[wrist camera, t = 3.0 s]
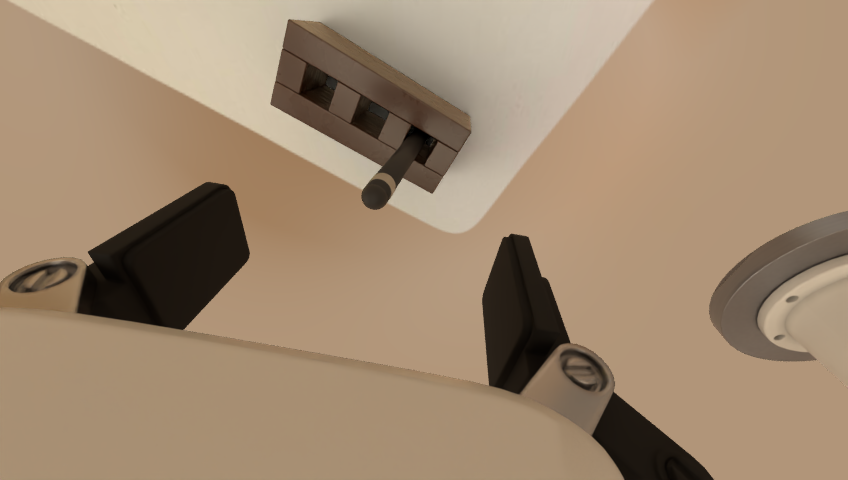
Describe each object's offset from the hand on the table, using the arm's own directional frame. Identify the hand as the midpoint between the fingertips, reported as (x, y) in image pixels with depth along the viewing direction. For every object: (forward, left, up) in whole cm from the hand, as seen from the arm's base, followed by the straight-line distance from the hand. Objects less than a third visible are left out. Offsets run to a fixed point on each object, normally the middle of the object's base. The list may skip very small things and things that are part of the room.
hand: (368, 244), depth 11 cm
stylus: (0, 0, -16) cm, 16 cm away
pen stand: (+3, -1, -16) cm, 17 cm away
